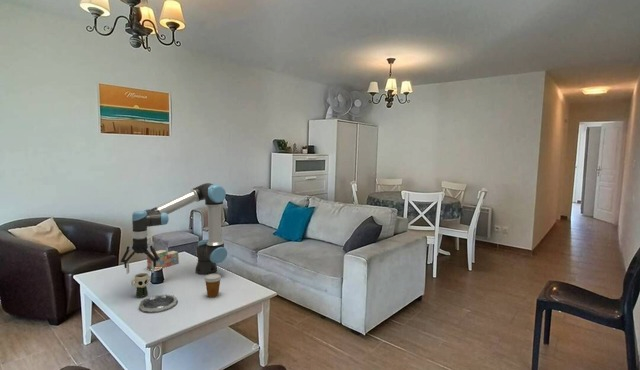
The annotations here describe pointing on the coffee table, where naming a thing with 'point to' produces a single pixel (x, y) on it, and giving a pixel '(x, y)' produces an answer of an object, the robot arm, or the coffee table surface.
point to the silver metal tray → (158, 303)
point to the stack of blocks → (164, 259)
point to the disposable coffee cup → (212, 284)
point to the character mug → (141, 284)
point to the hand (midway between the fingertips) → (140, 272)
